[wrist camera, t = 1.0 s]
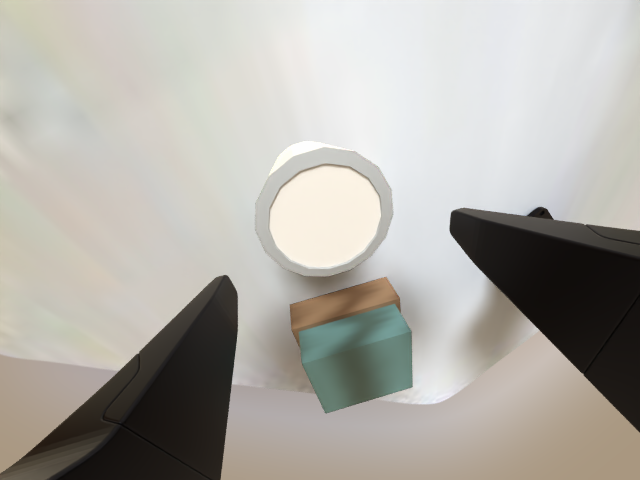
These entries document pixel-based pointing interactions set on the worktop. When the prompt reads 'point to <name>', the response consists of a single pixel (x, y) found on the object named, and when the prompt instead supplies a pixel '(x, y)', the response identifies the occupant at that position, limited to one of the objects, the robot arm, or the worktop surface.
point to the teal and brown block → (354, 344)
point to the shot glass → (322, 209)
